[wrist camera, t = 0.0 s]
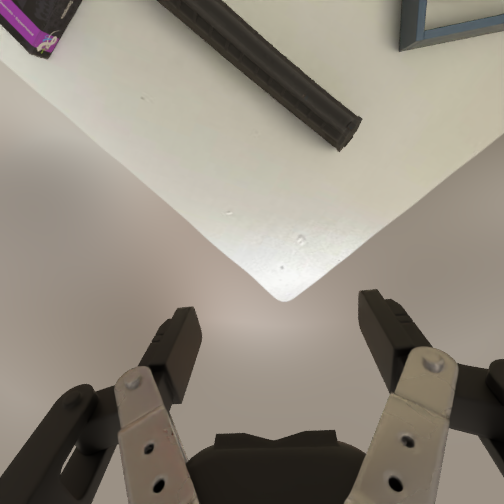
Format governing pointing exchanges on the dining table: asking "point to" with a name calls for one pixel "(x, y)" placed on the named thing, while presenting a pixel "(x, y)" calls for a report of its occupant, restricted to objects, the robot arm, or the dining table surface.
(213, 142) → the dining table surface
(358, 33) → the dining table surface
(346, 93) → the dining table surface
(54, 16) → the box
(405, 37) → the blue rectangular frame
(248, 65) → the magazine
